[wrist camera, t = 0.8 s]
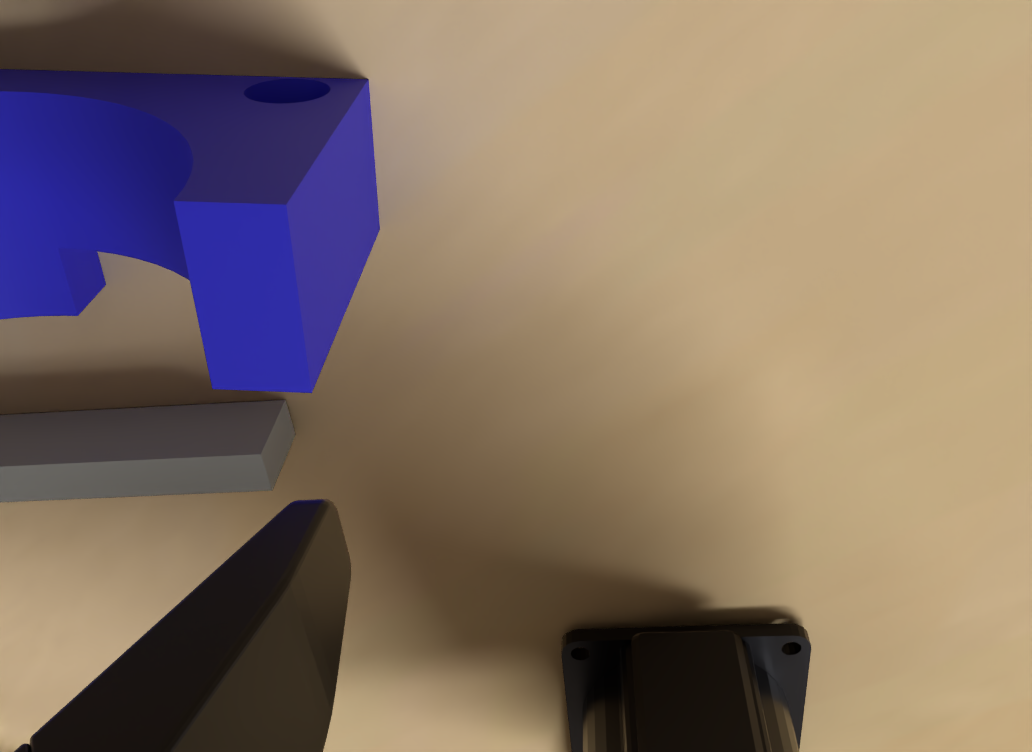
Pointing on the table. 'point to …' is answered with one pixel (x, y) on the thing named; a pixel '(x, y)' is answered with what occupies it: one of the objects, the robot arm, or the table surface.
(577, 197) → the table surface
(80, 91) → the cable clip
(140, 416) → the guide rails
